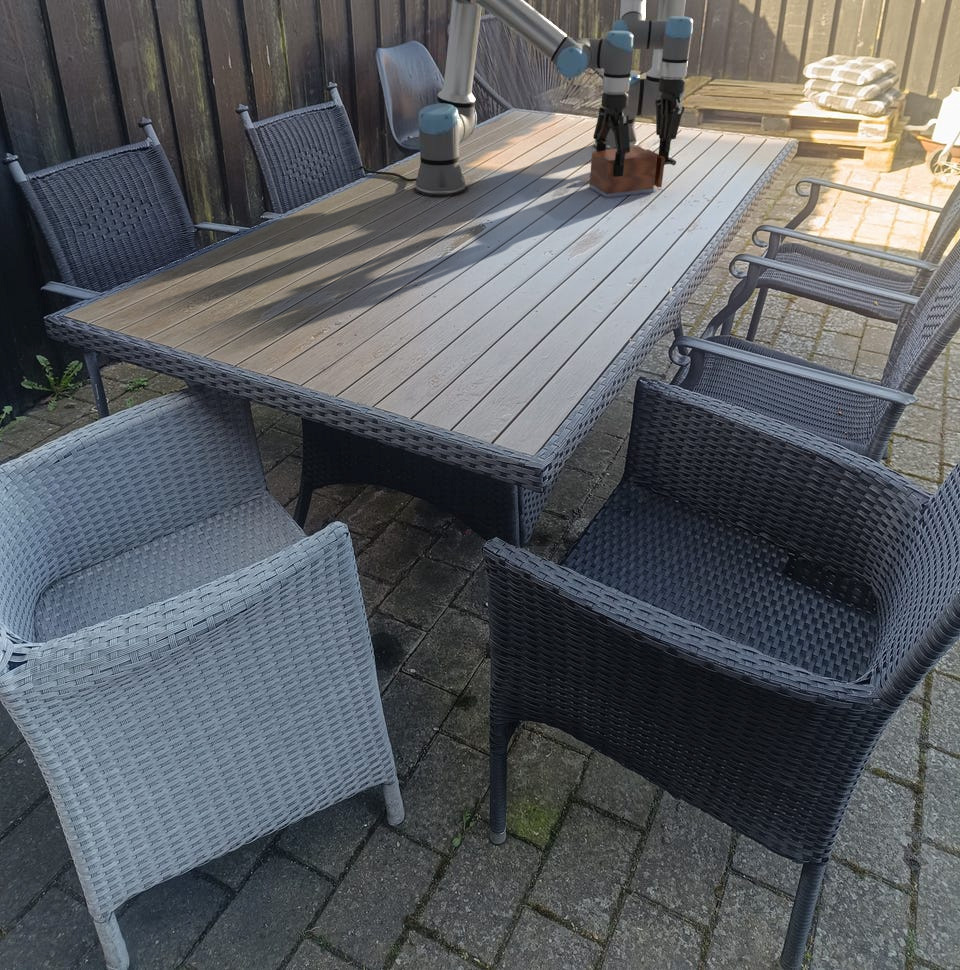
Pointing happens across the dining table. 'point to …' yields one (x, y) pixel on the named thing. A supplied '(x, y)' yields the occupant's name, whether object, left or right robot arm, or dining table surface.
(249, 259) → the dining table surface
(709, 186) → the dining table surface
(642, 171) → the cabinet
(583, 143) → the dining table surface
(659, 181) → the drawer
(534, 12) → the left robot arm
